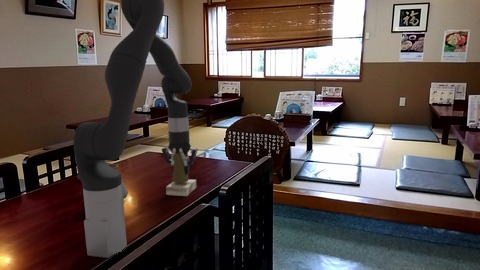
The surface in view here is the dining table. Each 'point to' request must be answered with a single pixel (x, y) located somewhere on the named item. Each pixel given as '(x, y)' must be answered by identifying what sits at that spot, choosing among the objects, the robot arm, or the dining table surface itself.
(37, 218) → the dining table surface
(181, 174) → the cork
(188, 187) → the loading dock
